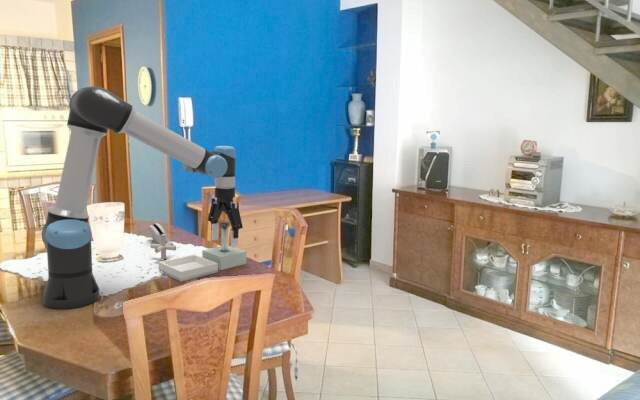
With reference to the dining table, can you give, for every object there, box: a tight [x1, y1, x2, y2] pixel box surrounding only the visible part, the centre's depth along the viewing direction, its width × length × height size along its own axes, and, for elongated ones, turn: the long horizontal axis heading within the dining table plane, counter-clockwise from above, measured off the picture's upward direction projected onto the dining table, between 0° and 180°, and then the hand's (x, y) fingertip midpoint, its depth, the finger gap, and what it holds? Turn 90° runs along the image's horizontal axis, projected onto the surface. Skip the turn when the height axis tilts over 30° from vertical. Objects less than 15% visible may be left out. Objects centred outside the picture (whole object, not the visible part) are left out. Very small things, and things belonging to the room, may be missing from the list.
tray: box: [158, 254, 219, 283], centre depth 172 cm, size 15×15×4 cm
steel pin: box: [218, 221, 231, 253], centre depth 182 cm, size 4×4×16 cm
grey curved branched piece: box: [148, 222, 175, 246], centre depth 207 cm, size 17×5×10 cm, turn 33°
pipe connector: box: [150, 233, 177, 260], centre depth 184 cm, size 10×10×10 cm
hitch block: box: [201, 244, 247, 271], centre depth 183 cm, size 12×12×5 cm
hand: (224, 243), depth 182 cm, fingers open, 11 cm apart
